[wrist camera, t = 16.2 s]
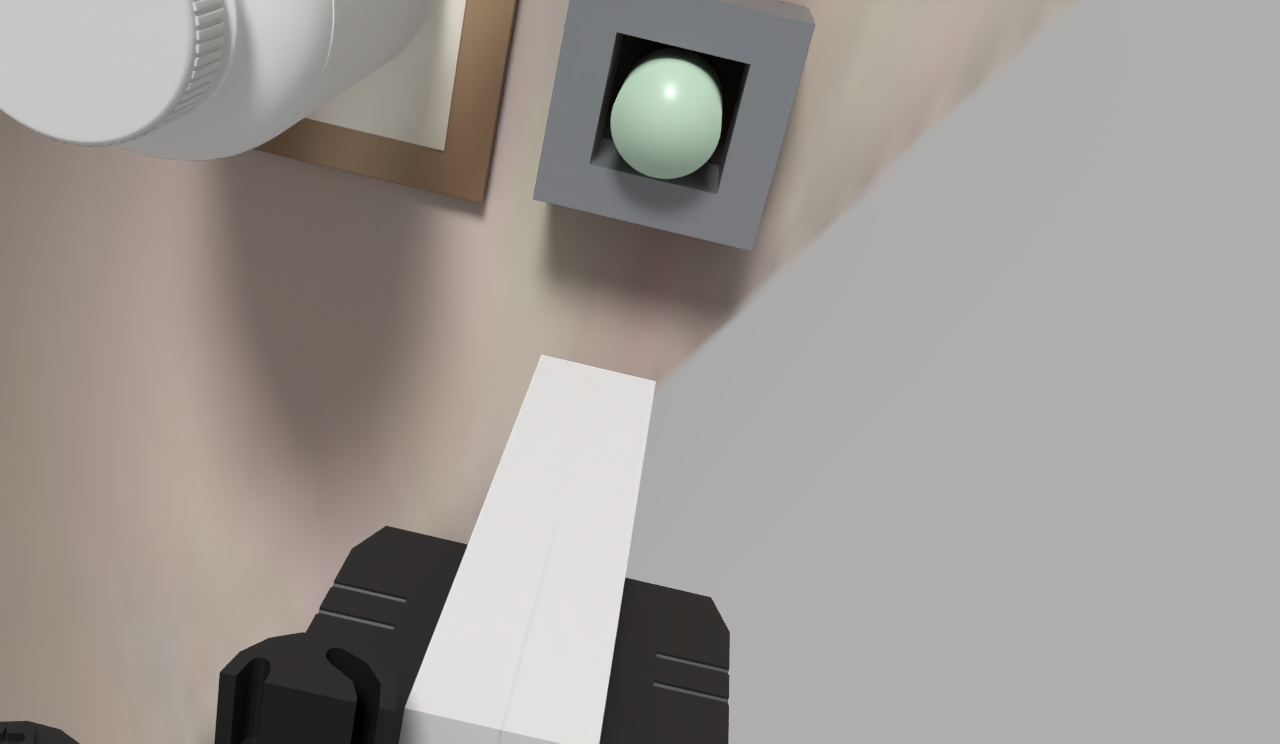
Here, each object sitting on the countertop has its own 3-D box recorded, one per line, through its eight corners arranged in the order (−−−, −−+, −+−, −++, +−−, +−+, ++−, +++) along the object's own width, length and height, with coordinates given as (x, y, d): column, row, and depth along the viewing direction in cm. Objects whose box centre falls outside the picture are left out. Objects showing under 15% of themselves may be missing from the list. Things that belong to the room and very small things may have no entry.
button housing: (549, 169, 38) (532, 199, 35) (590, -45, 35) (576, -34, 32) (751, 217, 39) (752, 251, 35) (808, 8, 36) (815, 24, 32)
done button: (612, 136, 37) (600, 164, 33) (633, 37, 35) (622, 55, 32) (709, 160, 37) (706, 190, 33) (734, 61, 35) (733, 82, 32)
